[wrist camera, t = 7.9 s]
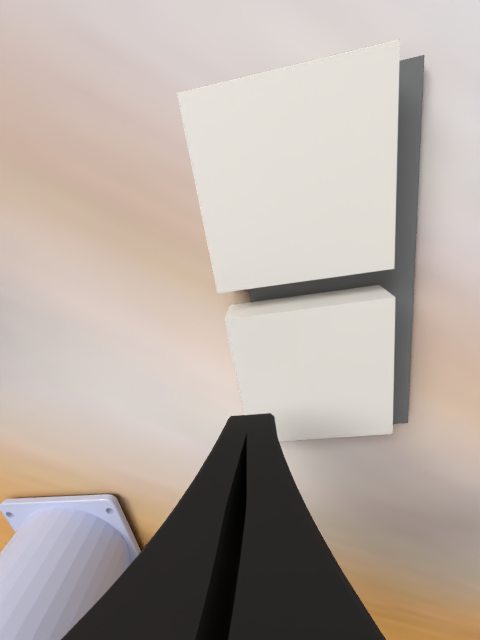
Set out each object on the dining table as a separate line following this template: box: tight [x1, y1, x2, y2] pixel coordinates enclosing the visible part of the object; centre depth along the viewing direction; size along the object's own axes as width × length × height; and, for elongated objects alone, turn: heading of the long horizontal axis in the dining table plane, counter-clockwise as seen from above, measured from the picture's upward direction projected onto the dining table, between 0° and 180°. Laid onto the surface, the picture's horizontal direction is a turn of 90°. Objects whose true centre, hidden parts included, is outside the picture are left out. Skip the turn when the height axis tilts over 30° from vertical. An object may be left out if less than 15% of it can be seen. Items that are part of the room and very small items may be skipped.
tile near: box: [177, 39, 400, 293], centre depth 10 cm, size 6×2×6 cm
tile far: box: [224, 285, 395, 442], centre depth 12 cm, size 6×2×6 cm
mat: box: [249, 55, 424, 424], centre depth 12 cm, size 14×6×1 cm, turn 10°
